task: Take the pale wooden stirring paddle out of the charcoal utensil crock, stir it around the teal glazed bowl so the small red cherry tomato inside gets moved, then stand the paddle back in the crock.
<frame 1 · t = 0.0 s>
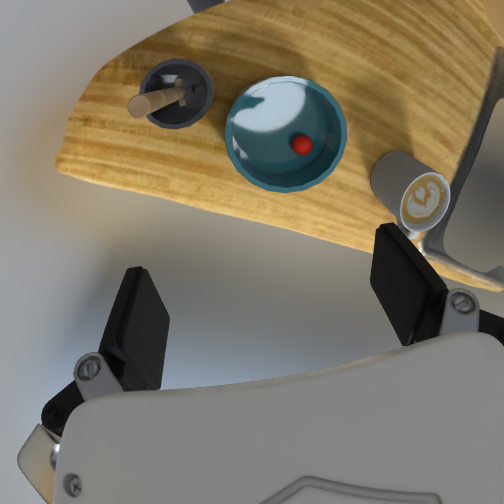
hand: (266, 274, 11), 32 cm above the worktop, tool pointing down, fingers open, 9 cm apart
coffee mug: (392, 186, 45), on the worktop
crock: (186, 90, 34), on the worktop
paddle: (185, 90, 33), resting on crock
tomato: (302, 145, 38), point 2 cm above the worktop, touching bowl
bowl: (280, 127, 38), on the worktop
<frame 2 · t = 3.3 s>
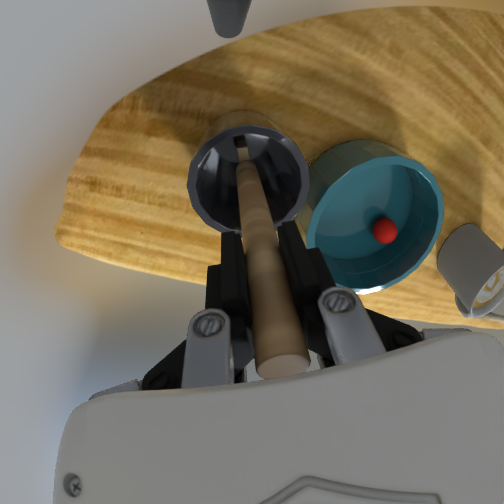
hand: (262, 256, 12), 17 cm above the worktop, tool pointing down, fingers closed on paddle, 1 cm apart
coffee mug: (455, 258, 37), on the worktop
crock: (242, 151, 26), on the worktop
paddle: (242, 152, 26), point 1 cm above the worktop, touching crock, gripper
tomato: (384, 230, 30), point 2 cm above the worktop, touching bowl
bowl: (359, 206, 30), on the worktop
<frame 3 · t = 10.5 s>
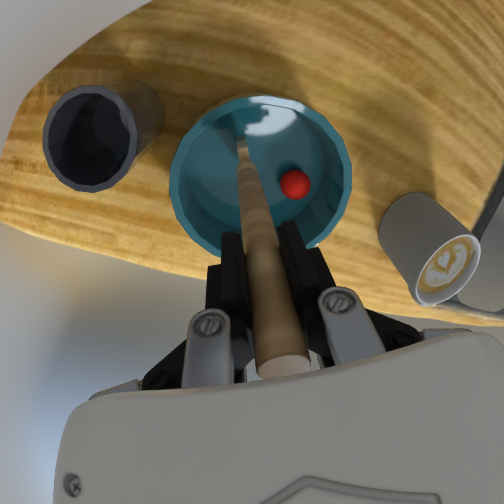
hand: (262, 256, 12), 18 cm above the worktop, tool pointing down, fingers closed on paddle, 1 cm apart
coffee mug: (405, 235, 35), on the worktop
crock: (124, 119, 24), on the worktop
paddle: (242, 153, 26), point 2 cm above the worktop, touching gripper
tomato: (295, 184, 27), point 2 cm above the worktop, tilted 39°, touching bowl
bowl: (256, 167, 28), on the worktop
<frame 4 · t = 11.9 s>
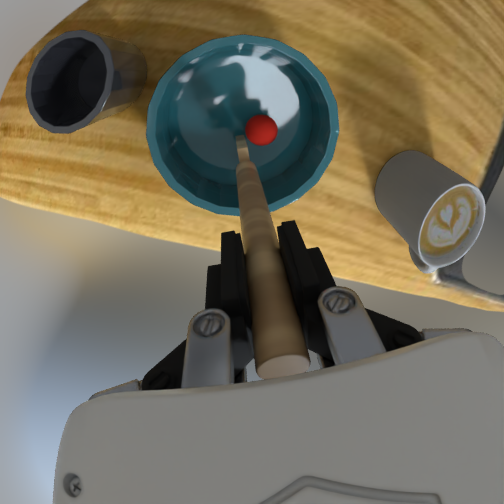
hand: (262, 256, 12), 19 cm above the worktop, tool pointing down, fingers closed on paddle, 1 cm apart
coffee mug: (404, 199, 32), on the worktop
crock: (109, 77, 21), on the worktop
paddle: (242, 153, 26), point 2 cm above the worktop, touching gripper
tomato: (261, 130, 25), point 2 cm above the worktop, tilted 45°, touching bowl
bowl: (240, 118, 26), on the worktop
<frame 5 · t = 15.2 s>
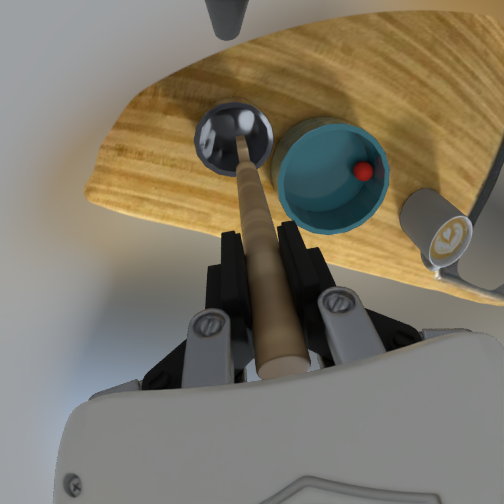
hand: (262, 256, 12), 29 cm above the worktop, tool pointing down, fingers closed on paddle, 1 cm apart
coffee mug: (418, 220, 46), on the worktop
crock: (232, 126, 35), on the worktop
paddle: (243, 153, 26), point 12 cm above the worktop, touching gripper
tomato: (363, 171, 38), point 2 cm above the worktop, tilted 116°, touching bowl
bowl: (323, 168, 40), on the worktop
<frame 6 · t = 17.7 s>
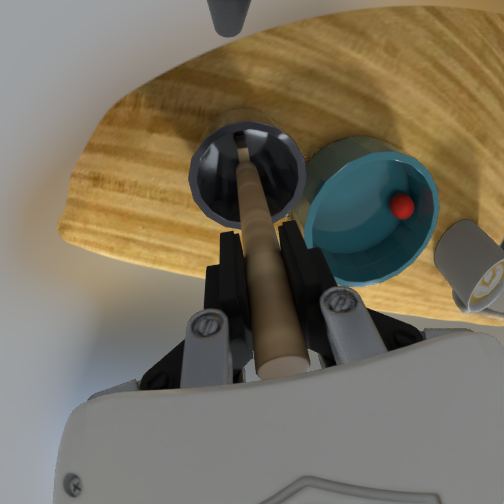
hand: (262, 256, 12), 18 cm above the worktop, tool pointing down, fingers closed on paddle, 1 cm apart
coffee mug: (452, 254, 38), on the worktop
crock: (242, 147, 27), on the worktop
paddle: (242, 153, 26), point 1 cm above the worktop, touching gripper
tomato: (402, 206, 29), point 2 cm above the worktop, tilted 109°, touching bowl
bowl: (356, 201, 31), on the worktop
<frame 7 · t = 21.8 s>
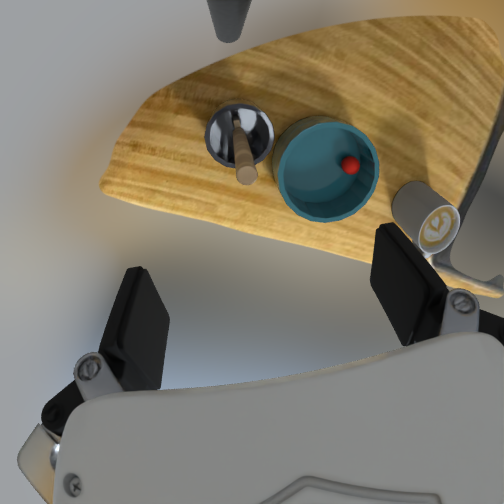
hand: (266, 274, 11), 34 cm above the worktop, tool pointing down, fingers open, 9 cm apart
coffee mug: (409, 211, 50), on the worktop
crock: (237, 124, 39), on the worktop
paddle: (237, 126, 39), resting on crock
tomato: (350, 165, 42), point 2 cm above the worktop, tilted 95°, touching bowl
bowl: (319, 162, 43), on the worktop
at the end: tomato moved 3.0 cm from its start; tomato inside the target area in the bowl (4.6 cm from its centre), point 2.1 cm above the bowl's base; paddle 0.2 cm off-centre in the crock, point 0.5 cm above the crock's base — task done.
